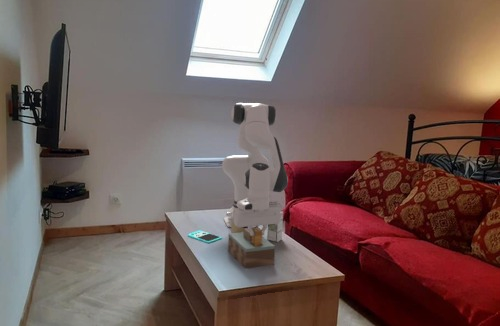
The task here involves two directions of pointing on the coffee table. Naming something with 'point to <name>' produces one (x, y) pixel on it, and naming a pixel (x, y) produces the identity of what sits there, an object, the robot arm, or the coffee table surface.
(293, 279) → the coffee table surface
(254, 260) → the toolbox
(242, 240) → the toolbox lid
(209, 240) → the handheld game console
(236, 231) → the coffee cup
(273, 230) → the syrup box
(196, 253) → the coffee table surface
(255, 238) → the wooden block
